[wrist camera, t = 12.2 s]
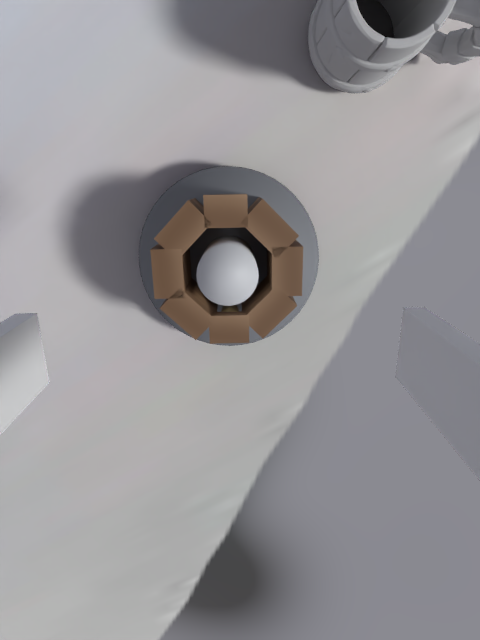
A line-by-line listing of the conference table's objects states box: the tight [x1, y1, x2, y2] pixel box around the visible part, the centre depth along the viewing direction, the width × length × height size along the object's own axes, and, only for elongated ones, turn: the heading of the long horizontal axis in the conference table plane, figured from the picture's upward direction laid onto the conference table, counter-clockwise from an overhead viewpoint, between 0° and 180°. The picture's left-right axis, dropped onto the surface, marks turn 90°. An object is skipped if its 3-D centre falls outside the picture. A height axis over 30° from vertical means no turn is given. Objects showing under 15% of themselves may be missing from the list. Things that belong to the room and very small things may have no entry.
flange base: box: [139, 166, 319, 346], centre depth 33 cm, size 15×15×8 cm
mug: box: [308, 0, 480, 93], centre depth 26 cm, size 8×12×12 cm, turn 78°
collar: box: [150, 194, 303, 344], centre depth 32 cm, size 11×11×5 cm
